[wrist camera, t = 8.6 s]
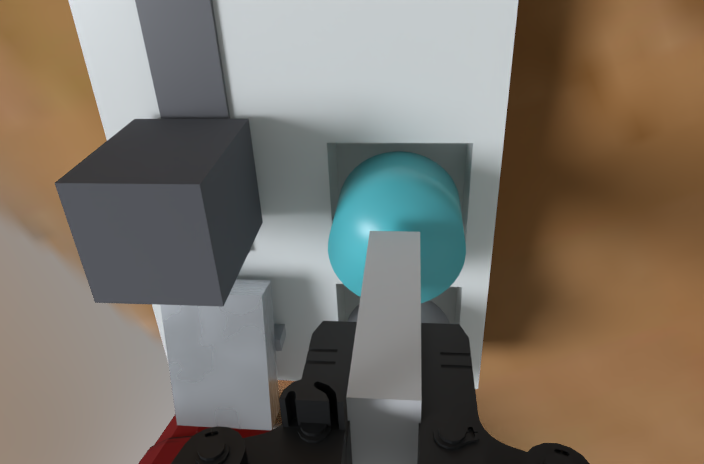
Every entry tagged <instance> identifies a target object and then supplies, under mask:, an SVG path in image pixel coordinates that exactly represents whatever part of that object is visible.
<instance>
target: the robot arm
mask: <svg viewBox="0 0 704 464" xmlns="http://www.w3.org/2000/svg"><path fill="white" fill-rule="evenodd" d="M279 403H280V410H281V417H282V425H281V426H279V427H277V428H276V429H274V430H272V431H269V432H266V433H263V434H259V435H255V436H250V437H246V438H242V436H241V435H240V434H239V432H237V431H235V430H233V429H231V428H229V427H220V426H216V427H212V428H207V429H204V430H202V431H200V432H199V433H197V434H195V435H193V436H192V437H191V438H190V439H189V440H188V441H187V442H186V443H185V444H184V446H183V447H182V449H181V450H180V451H179V453H178V454H177V456H176V457H175V458H174V460H173V461H172V463H171V464H589V463H588V461H587V460H586V459H585V458H584V457H583V456H582V455H581V454H579V453H578V452H576V451H575V450H573V449H572V448H570V447H567V446H564V445H561V444H558V443H543V444H540V445H537V446H534V447H532V448H531V449H530V450H529V451H528V452H525V451H522V450H519V449H516V448H513V447H510V446H508V445H505V444H503V443H501V442H499V441H498V440H496V439H495V438H493V437H492V436H490V434H489V433H488V432H487V431H486V430H485V429H484V428H483V426H482V424H481V423H480V420H479V416H478V411H477V402H476V394H475V385H474V376H473V369H472V359H471V350H470V342H469V337H468V336H467V334H466V333H465V331H464V330H463V329H462V327H461V326H460V324H442V323H421V266H420V232H407V231H370V233H369V240H368V247H367V254H366V261H365V269H364V276H363V283H362V290H361V297H360V304H359V311H358V318H357V322H346V321H322V323H321V324H320V325H319V326H318V327H317V328H316V330H315V331H314V332H313V333H312V336H311V341H310V345H309V351H308V353H307V357H306V363H305V366H304V370H303V374H302V378H301V379H300V380H298V381H295V382H293V383H291V384H290V385H289V386H288V387H287V388H285V389H284V390H283V392H282V394H281V396H280V398H279Z"/></svg>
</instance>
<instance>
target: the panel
mask: <svg viewBox="0 0 704 464" xmlns="http://www.w3.org/2000/svg"><path fill="white" fill-rule="evenodd" d="M69 4H70V8H71V11H72V15H73V18H74V22H75V26H76V29H77V33H78V37H79V40H80V44H81V48H82V51H83V55H84V59H85V62H86V66H87V69H88V73H89V77H90V80H91V84H92V88H93V91H94V95H95V99H96V102H97V106H98V109H99V113H100V117H101V120H102V124H103V128H104V131H105V135H106V139H107V141H108V140H109V139H110V138H111V137H113V136H114V135H115V134H116V133H118V132H119V131H120V130H121V129H123V128H124V127H125V126H126V125H127V124H129V123H130V122H131V121H132V120H134V119H249V125H250V132H251V139H252V147H253V154H254V161H255V169H256V176H257V183H258V191H259V198H260V205H261V213H262V220H263V223H262V225H261V227H260V229H259V232H258V234H257V236H256V238H255V240H254V242H253V244H252V247H251V249H250V251H249V253H248V255H247V257H246V259H245V262H244V264H243V266H242V268H241V270H240V272H239V274H238V277H237V279H236V280H271V289H272V303H273V318H274V332H275V347H276V362H277V376H278V380H291V381H298V380H300V379H301V378H302V374H303V370H304V366H305V363H306V357H307V353H308V351H309V345H310V341H311V336H312V333H313V332H314V331H315V330H316V328H317V327H318V326H319V325H320V324H321V323H322V321H346V322H347V321H348V318H349V316H350V314H351V312H352V311H353V310H354V308H355V307H356V306H357V305H358V304H360V296H358V295H356V294H355V293H353V292H352V291H350V290H349V289H348V288H347V287H346V286H345V285H344V284H343V283H342V282H341V281H340V280H339V278H338V277H337V275H336V274H335V272H334V270H333V268H332V266H331V263H330V260H329V255H328V240H329V234H330V230H331V226H332V223H333V219H334V215H335V211H336V207H337V203H338V199H339V195H340V192H341V189H342V186H343V184H344V182H345V180H346V178H347V177H348V175H349V174H350V173H351V172H352V171H353V169H354V168H355V167H357V166H358V165H359V164H360V163H362V162H363V161H365V160H367V159H368V158H371V157H373V156H375V155H378V154H382V153H386V152H395V151H403V152H411V153H416V154H419V155H422V156H425V157H427V158H429V159H431V160H433V161H434V162H436V163H438V164H439V165H440V166H441V167H442V168H444V169H445V171H446V172H447V173H448V174H449V175H450V177H451V178H452V179H453V181H454V183H455V185H456V187H457V190H458V193H459V199H460V206H461V213H462V221H463V228H464V236H465V243H466V256H465V262H464V265H463V268H462V270H461V272H460V274H459V276H458V277H457V279H456V280H455V282H454V283H453V284H452V285H451V286H450V287H449V288H448V289H447V290H446V291H444V292H443V293H442V294H440V295H439V296H437V297H435V298H433V299H431V300H430V301H432V302H433V303H435V304H436V305H437V306H438V307H439V308H440V309H441V310H442V311H443V312H444V313H445V315H446V316H447V318H448V320H449V323H450V324H460V326H461V327H462V329H463V330H464V331H465V333H466V334H467V336H468V337H469V342H470V350H471V359H472V369H473V376H474V385H475V389H478V384H479V374H480V365H481V355H482V345H483V336H484V326H485V317H486V307H487V297H488V288H489V278H490V269H491V259H492V249H493V240H494V230H495V220H496V211H497V201H498V192H499V182H500V172H501V163H502V153H503V144H504V134H505V124H506V115H507V105H508V95H509V86H510V76H511V67H512V57H513V47H514V38H515V28H516V19H517V9H518V0H69ZM152 306H153V310H154V313H155V317H156V321H157V324H158V328H159V332H160V335H161V339H162V343H163V346H164V350H165V353H166V357H167V349H166V342H165V335H164V328H163V321H162V313H161V306H160V305H158V304H152ZM167 361H168V357H167Z"/></svg>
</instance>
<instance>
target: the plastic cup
mask: <svg viewBox="0 0 704 464" xmlns="http://www.w3.org/2000/svg"><path fill="white" fill-rule="evenodd" d="M207 428H212V427H200V426H182V425H177V421H176V414H175V416H174V417H173V419H172V420H171V422H170V423H169V425H168V426H167V427H166V429H165V430H164V432H163V433H162V435H161V436H160V438H159V439H158V440H157V442H156V443H155V445H154V446H152V447H150V449H149V450H148V451H147V453H146V454H145V455H144V457H143V458H142V459H141V461H140V462H139V464H171V463H172V461H173V460H174V458H175V457H176V456H177V454H178V453H179V451H180V450H181V449H182V447H183V446H184V444H185V443H186V442H187V441H188V440H189V439H190V438H191V437H192V436H193V435H195V434H197V433H199V432H200V431H202V430H204V429H207ZM231 429H233V430H235V431H237V432H239V434H240V435H241V436H242V438H246V437H250V436H255V435H259V434H263V433H266V432H269V431H272V430H273V429H272V430H255V429H236V428H231Z"/></svg>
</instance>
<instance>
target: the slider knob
mask: <svg viewBox="0 0 704 464" xmlns="http://www.w3.org/2000/svg"><path fill="white" fill-rule="evenodd" d="M55 185H56V188H57V191H58V194H59V197H60V200H61V203H62V206H63V209H64V212H65V215H66V218H67V221H68V224H69V227H70V230H71V233H72V236H73V239H74V242H75V244H76V247H77V250H78V253H79V256H80V259H81V262H82V265H83V268H84V271H85V274H86V277H87V280H88V283H89V286H90V289H91V292H92V295H93V298H94V301H95V302H96V303H127V304H158V305H189V306H220V307H224V304H225V302H226V300H227V298H228V296H229V294H230V292H231V289H232V287H233V285H234V283H235V281H236V279H237V277H238V274H239V272H240V270H241V268H242V266H243V264H244V262H245V259H246V257H247V255H248V253H249V251H250V249H251V247H252V244H253V242H254V240H255V238H256V236H257V234H258V232H259V229H260V227H261V225H262V223H263V220H262V213H261V205H260V198H259V191H258V183H257V176H256V169H255V161H254V154H253V147H252V139H251V132H250V125H249V119H134V120H132V121H131V122H130V123H129V124H127V125H126V126H125V127H124V128H123V129H121V130H120V131H119V132H118V133H116V134H115V135H114V136H113V137H111V138H110V139H109V140H108V141H106V142H105V143H104V144H103V145H101V146H100V147H99V148H98V149H96V150H95V151H94V152H93V153H91V154H90V155H89V156H88V157H87V158H85V159H84V160H83V161H82V162H80V163H79V164H78V165H77V166H75V167H74V168H73V169H72V170H70V171H69V172H68V173H67V174H65V175H64V176H63V177H62V178H60V179H59V180H58V181H57V182H55Z"/></svg>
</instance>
